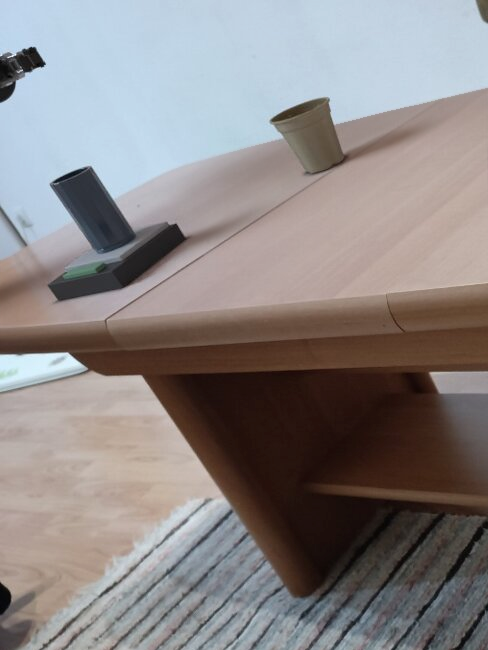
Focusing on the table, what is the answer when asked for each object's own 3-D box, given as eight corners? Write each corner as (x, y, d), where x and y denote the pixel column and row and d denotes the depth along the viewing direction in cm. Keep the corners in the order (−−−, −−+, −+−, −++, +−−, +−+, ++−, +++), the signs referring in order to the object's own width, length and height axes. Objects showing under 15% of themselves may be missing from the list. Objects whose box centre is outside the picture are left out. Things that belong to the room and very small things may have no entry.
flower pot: (351, 147, 137) (325, 92, 133) (358, 159, 130) (331, 101, 125) (295, 170, 136) (267, 116, 131) (299, 184, 129) (270, 126, 124)
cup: (88, 257, 118) (40, 188, 112) (114, 238, 122) (69, 170, 117) (118, 250, 116) (71, 179, 110) (144, 231, 120) (99, 162, 115)
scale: (58, 300, 117) (43, 280, 115) (124, 252, 127) (111, 233, 126) (123, 287, 113) (108, 266, 111) (186, 238, 123) (173, 218, 121)
